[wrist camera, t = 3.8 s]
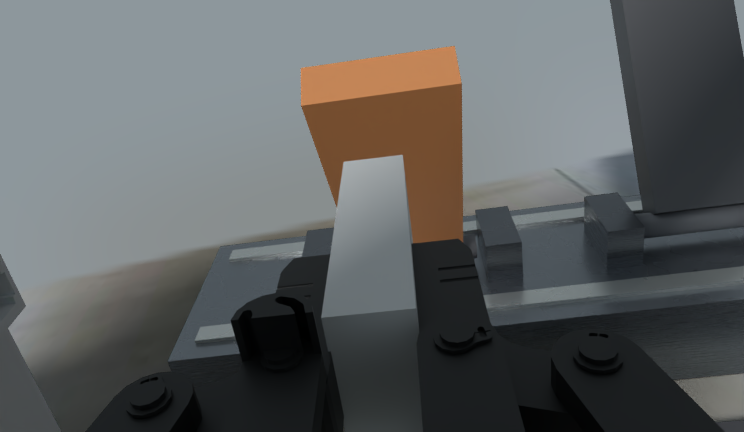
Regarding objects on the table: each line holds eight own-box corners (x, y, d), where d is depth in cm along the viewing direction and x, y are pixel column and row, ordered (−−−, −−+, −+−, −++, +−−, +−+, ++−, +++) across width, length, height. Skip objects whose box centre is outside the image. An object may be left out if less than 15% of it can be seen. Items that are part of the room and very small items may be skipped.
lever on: (769, 224, 30) (724, -38, 31) (788, 221, 28) (740, -54, 29) (632, 240, 30) (592, -18, 31) (643, 238, 28) (601, -33, 30)
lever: (473, 237, 31) (476, 42, 20) (477, 265, 30) (484, 80, 19) (346, 252, 31) (279, 71, 20) (348, 281, 30) (279, 108, 19)
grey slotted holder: (747, 243, 35) (762, 146, 33) (870, 360, 26) (905, 239, 24) (237, 302, 38) (211, 216, 35) (193, 427, 29) (153, 325, 26)
